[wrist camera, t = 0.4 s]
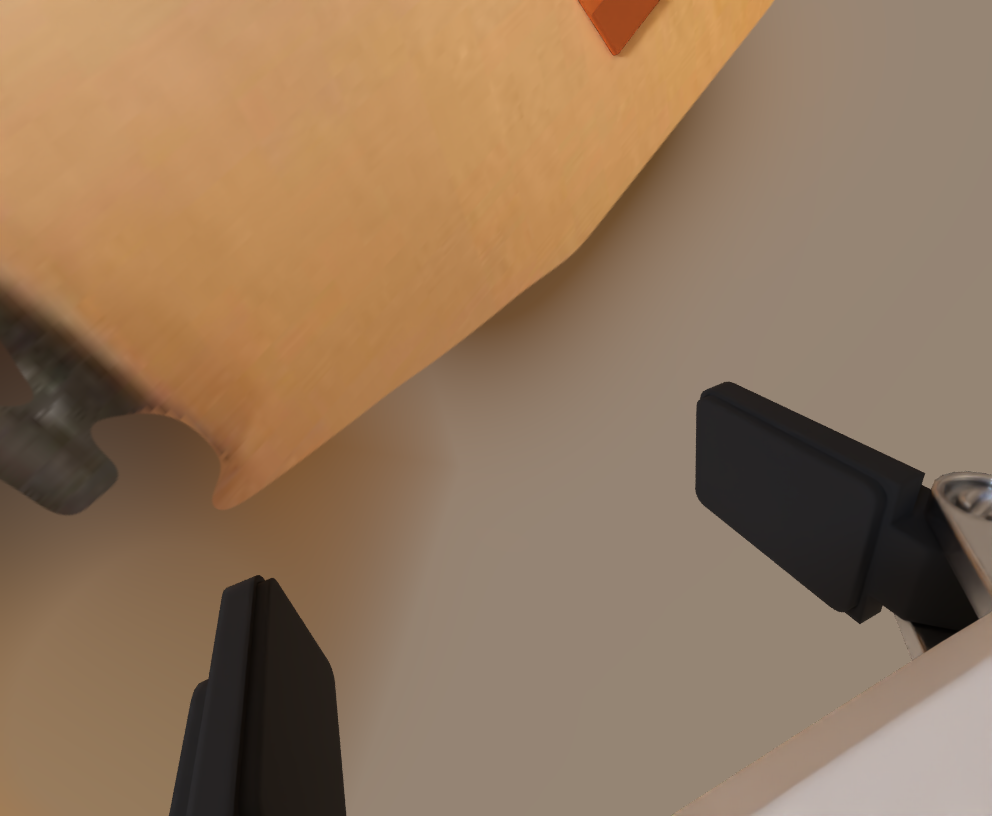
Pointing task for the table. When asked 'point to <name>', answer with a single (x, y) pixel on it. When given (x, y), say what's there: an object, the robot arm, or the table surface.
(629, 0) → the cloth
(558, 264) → the table surface
